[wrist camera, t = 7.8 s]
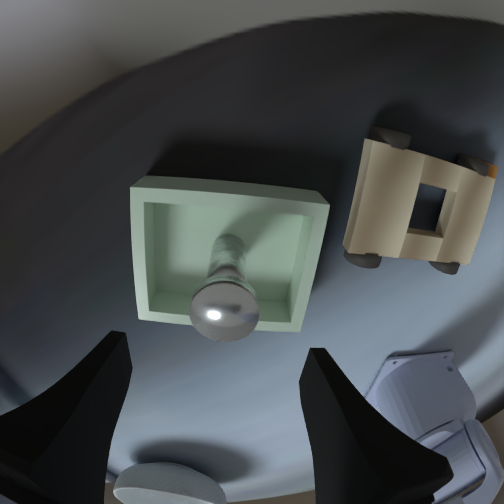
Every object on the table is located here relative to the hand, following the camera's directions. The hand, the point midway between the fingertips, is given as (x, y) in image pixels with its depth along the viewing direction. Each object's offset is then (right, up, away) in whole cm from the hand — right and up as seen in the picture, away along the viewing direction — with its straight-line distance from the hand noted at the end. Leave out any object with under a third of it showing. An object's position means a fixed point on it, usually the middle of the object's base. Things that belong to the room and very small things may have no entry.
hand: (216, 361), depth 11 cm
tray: (0, +5, +9) cm, 10 cm away
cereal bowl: (-11, -30, +26) cm, 41 cm away
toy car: (+13, +8, +8) cm, 17 cm away
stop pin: (0, +4, +9) cm, 10 cm away
